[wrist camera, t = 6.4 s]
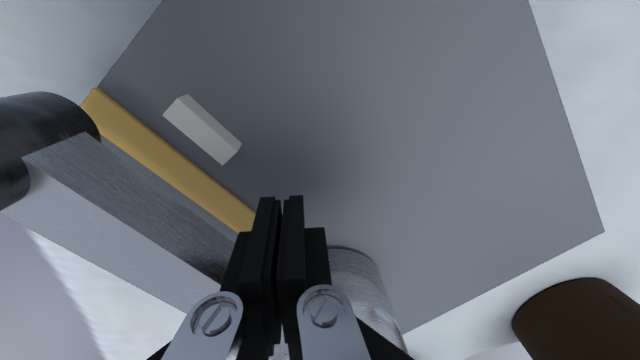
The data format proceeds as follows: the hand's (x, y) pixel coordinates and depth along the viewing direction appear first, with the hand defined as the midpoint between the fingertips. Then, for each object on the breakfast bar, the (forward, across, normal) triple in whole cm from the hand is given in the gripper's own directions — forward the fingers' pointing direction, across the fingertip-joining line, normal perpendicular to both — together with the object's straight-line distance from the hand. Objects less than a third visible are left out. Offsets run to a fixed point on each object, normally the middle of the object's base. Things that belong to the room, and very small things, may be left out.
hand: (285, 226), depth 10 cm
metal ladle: (+3, +2, +3) cm, 4 cm away
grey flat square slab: (+5, -4, +2) cm, 7 cm away
